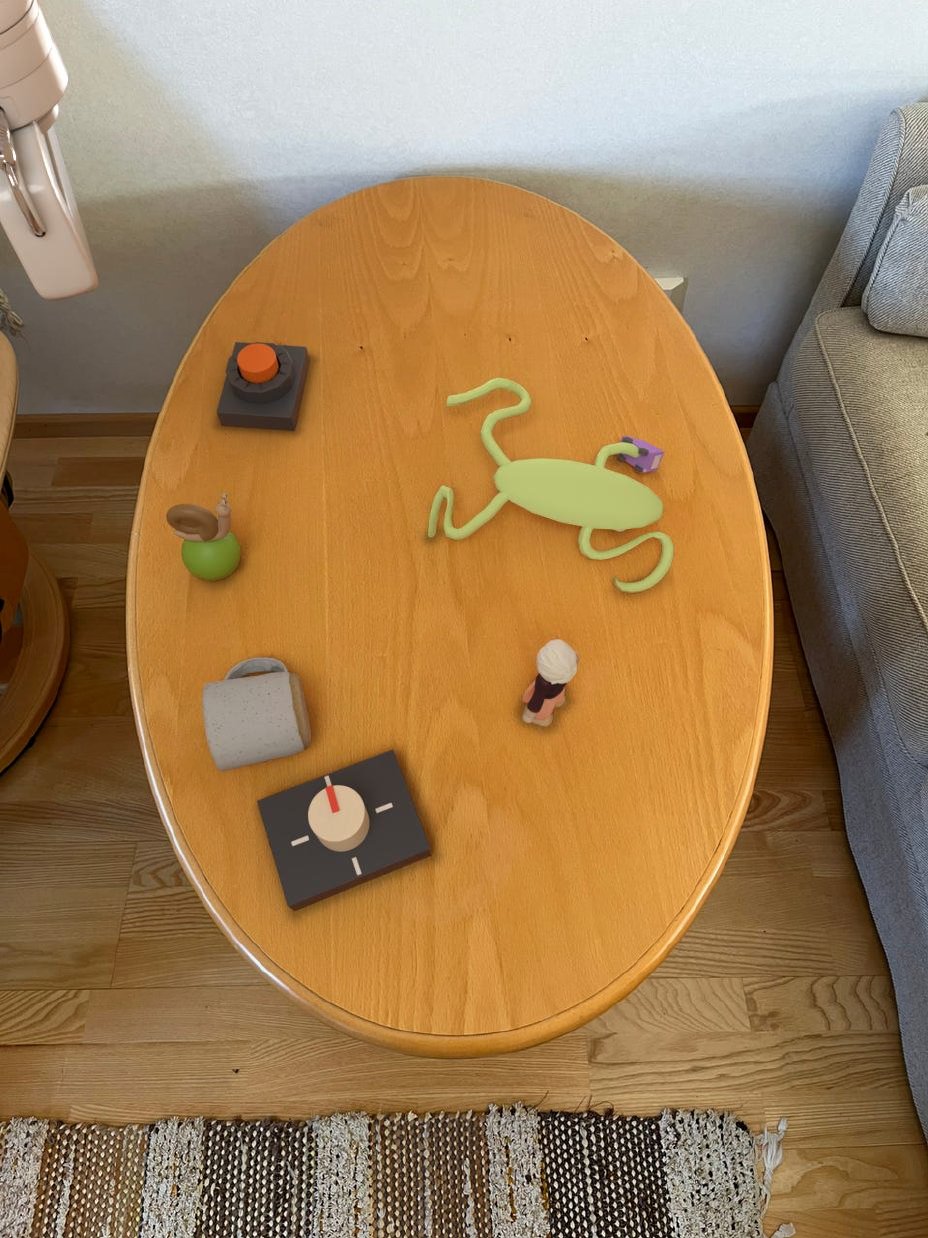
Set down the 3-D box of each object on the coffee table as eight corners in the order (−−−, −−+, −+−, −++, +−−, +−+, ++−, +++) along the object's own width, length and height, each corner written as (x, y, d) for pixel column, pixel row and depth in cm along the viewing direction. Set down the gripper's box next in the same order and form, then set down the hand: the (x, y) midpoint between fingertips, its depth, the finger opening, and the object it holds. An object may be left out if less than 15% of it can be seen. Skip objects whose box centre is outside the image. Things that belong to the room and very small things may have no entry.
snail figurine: (252, 591, 81) (221, 524, 71) (186, 590, 81) (145, 523, 71) (259, 543, 84) (230, 471, 73) (195, 542, 84) (156, 470, 73)
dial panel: (294, 911, 68) (287, 906, 66) (263, 809, 72) (256, 800, 69) (431, 855, 70) (430, 848, 68) (395, 759, 74) (392, 748, 71)
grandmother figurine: (538, 665, 78) (553, 603, 67) (576, 682, 78) (598, 622, 66) (505, 736, 75) (514, 684, 64) (544, 754, 74) (560, 704, 63)
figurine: (459, 396, 92) (460, 360, 87) (697, 462, 89) (712, 427, 84) (400, 530, 85) (396, 499, 80) (657, 608, 81) (671, 580, 76)
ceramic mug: (319, 760, 74) (305, 731, 67) (226, 783, 73) (203, 755, 66) (300, 655, 79) (285, 617, 72) (212, 674, 78) (189, 638, 71)
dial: (376, 841, 68) (371, 829, 64) (323, 859, 67) (315, 849, 63) (360, 790, 70) (355, 776, 66) (309, 807, 69) (301, 794, 65)
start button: (274, 385, 88) (271, 373, 87) (237, 382, 88) (233, 370, 87) (281, 356, 90) (278, 344, 88) (244, 353, 90) (241, 341, 89)
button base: (294, 431, 90) (288, 406, 87) (221, 425, 90) (211, 400, 87) (309, 360, 95) (304, 334, 91) (239, 355, 95) (231, 329, 91)
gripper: (66, 157, 44) (151, 348, 57) (7, -42, 53) (93, 163, 65) (-58, 186, 43) (57, 374, 56) (-97, -22, 51) (10, 183, 64)
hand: (76, 259), depth 60 cm, fingers closed
